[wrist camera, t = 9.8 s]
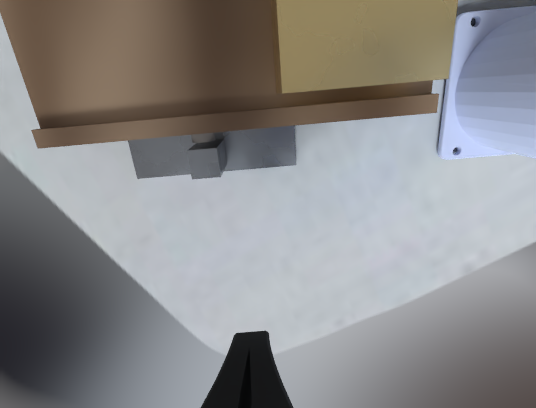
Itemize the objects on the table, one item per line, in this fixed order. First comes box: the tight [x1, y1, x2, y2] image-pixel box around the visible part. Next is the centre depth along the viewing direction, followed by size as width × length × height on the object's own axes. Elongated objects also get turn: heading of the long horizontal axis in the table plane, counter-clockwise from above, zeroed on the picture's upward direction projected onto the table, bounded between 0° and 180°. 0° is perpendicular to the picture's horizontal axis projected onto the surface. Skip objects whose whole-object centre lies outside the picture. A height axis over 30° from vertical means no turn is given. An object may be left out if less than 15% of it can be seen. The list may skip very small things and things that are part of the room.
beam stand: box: [128, 125, 296, 179], centre depth 15 cm, size 10×13×4 cm
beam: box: [0, 0, 439, 148], centre depth 13 cm, size 18×8×3 cm, turn 95°
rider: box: [270, 0, 458, 94], centre depth 11 cm, size 6×4×3 cm
